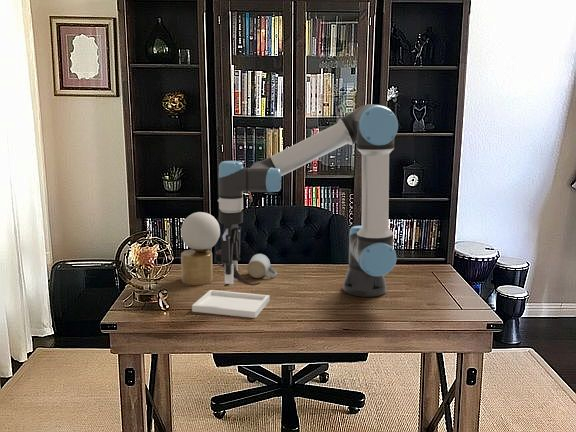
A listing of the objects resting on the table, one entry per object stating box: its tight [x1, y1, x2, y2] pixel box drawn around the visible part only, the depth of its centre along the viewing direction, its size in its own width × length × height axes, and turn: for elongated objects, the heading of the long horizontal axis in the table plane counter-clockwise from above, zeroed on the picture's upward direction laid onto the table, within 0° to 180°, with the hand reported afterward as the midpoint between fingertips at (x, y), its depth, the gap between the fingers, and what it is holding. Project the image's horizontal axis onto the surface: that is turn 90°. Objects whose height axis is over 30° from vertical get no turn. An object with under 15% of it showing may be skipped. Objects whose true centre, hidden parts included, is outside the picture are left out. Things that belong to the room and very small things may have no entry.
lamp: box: [180, 211, 221, 286], centre depth 232 cm, size 15×14×25 cm
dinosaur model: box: [215, 248, 261, 287], centre depth 204 cm, size 4×12×15 cm
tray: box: [191, 289, 271, 319], centre depth 207 cm, size 21×16×2 cm
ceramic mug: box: [247, 253, 277, 279], centre depth 239 cm, size 11×8×8 cm
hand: (231, 281), depth 205 cm, fingers closed on dinosaur model, 3 cm apart
